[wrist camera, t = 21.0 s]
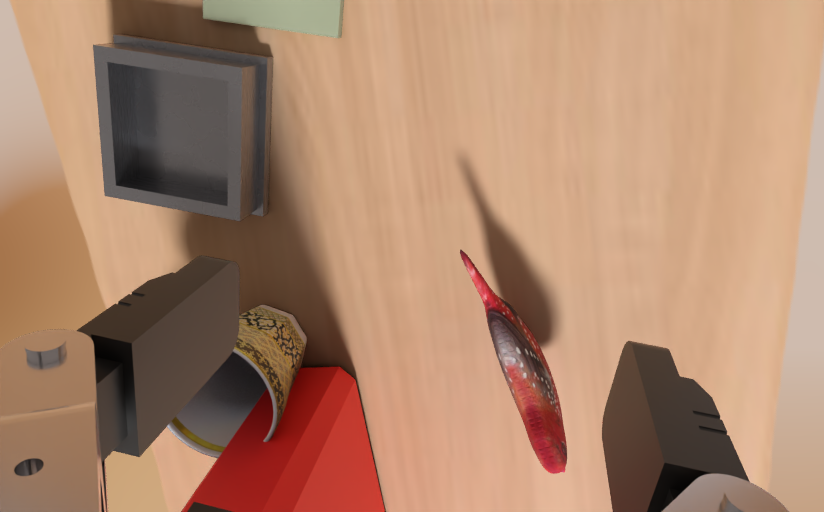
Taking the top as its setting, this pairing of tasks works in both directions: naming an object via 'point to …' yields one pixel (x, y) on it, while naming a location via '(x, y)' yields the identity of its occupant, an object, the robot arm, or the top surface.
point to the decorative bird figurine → (525, 375)
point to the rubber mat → (280, 14)
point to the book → (299, 454)
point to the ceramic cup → (244, 381)
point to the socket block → (185, 125)
